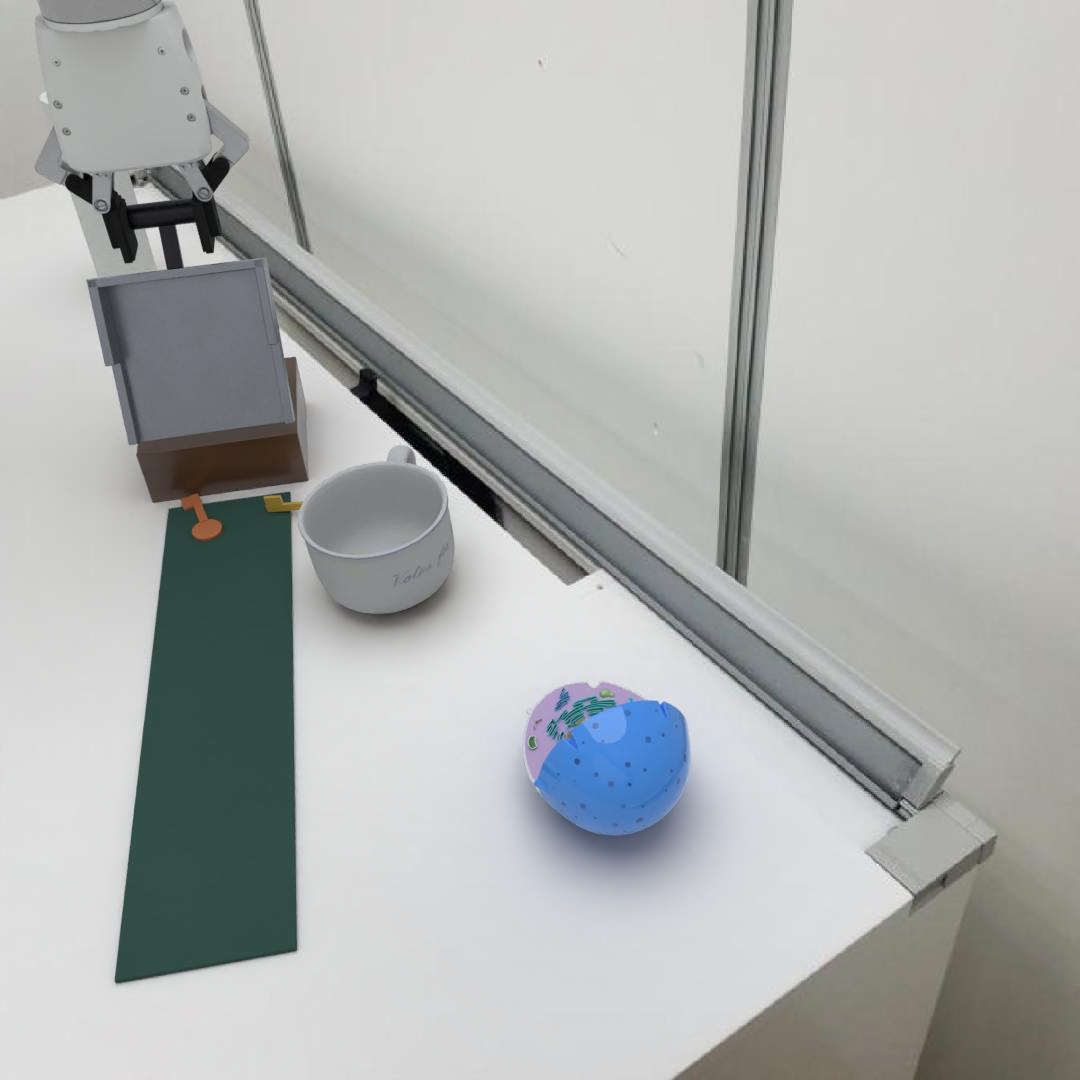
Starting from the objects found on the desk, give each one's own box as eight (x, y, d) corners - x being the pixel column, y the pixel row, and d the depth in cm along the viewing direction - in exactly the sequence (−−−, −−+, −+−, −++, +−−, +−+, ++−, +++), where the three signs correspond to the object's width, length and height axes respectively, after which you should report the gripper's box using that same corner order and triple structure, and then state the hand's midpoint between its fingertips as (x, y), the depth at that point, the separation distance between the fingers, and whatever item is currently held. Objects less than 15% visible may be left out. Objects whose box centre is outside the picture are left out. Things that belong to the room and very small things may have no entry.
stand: (163, 421, 105) (148, 375, 102) (305, 402, 106) (295, 356, 103) (152, 502, 96) (135, 454, 93) (308, 480, 97) (297, 432, 94)
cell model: (633, 699, 77) (634, 597, 71) (719, 838, 69) (729, 736, 63) (494, 746, 75) (483, 645, 69) (566, 897, 66) (560, 797, 60)
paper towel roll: (139, 307, 121) (76, 104, 107) (92, 299, 123) (24, 99, 109) (178, 275, 126) (123, 77, 112) (133, 268, 128) (72, 72, 114)
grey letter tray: (83, 212, 88) (68, 211, 84) (255, 192, 89) (249, 190, 85) (133, 442, 92) (121, 451, 88) (295, 420, 94) (291, 428, 90)
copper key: (195, 542, 91) (196, 544, 91) (225, 532, 92) (226, 535, 92) (179, 498, 95) (180, 501, 96) (207, 490, 96) (208, 492, 96)
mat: (169, 511, 95) (168, 508, 95) (290, 494, 96) (290, 491, 96) (115, 983, 64) (114, 980, 64) (297, 950, 65) (295, 947, 64)
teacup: (422, 649, 82) (409, 566, 77) (289, 617, 85) (267, 535, 80) (495, 528, 91) (487, 447, 86) (373, 502, 95) (359, 423, 89)
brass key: (335, 490, 92) (334, 493, 92) (343, 513, 94) (342, 516, 93) (262, 495, 93) (261, 497, 93) (271, 518, 95) (270, 520, 94)
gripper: (233, -38, 77) (285, 215, 89) (-28, -13, 76) (61, 242, 88) (229, -6, 72) (286, 259, 84) (-53, 22, 70) (46, 288, 82)
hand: (170, 247), depth 86 cm, fingers closed on grey letter tray, 5 cm apart
